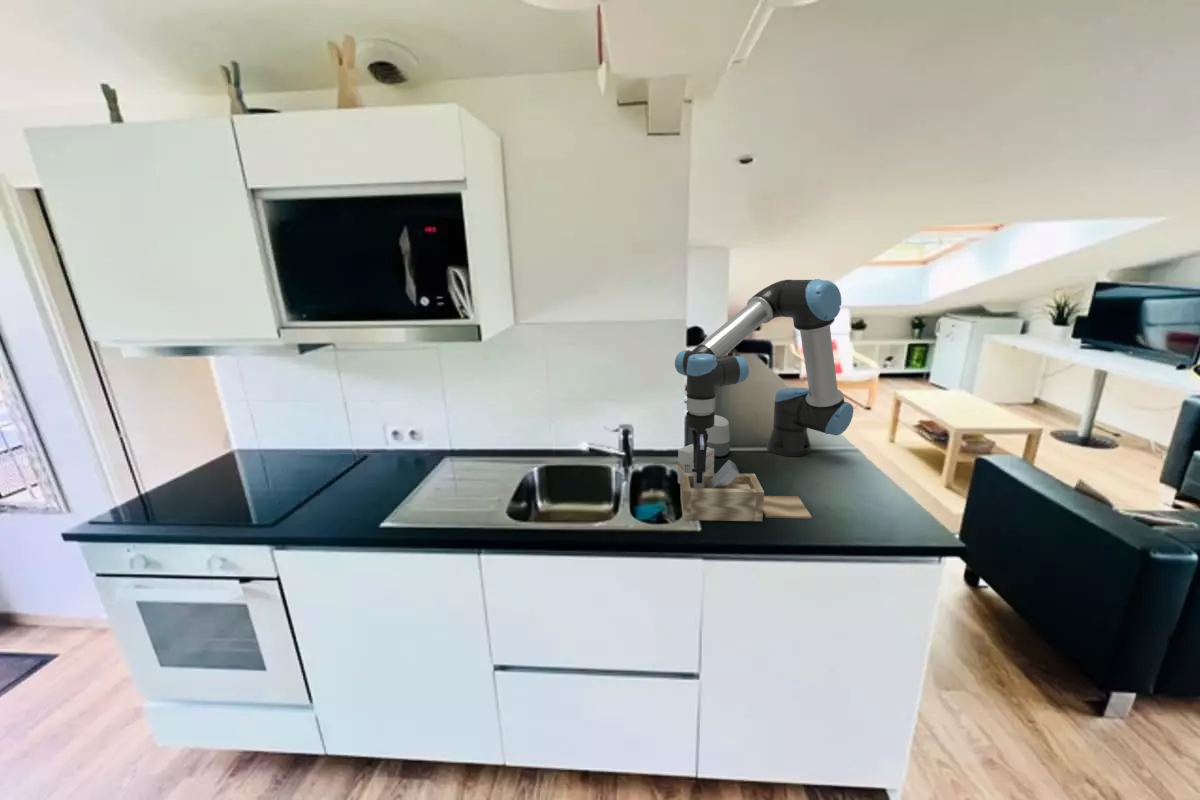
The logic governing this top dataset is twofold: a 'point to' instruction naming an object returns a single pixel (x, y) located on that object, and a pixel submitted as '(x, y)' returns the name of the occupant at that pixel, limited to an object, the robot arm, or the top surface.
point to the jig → (722, 499)
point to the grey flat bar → (723, 476)
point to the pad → (784, 507)
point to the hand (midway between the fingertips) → (698, 491)
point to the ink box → (687, 461)
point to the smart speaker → (719, 436)
